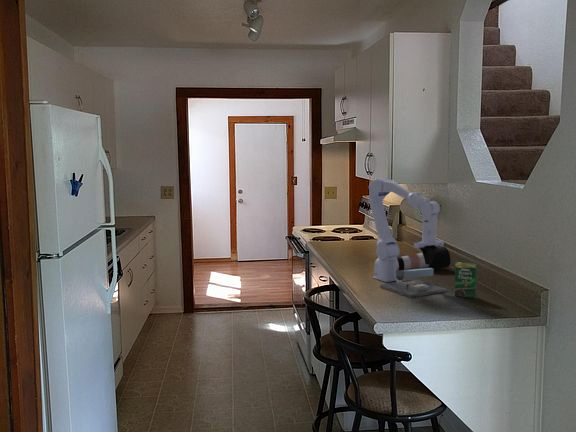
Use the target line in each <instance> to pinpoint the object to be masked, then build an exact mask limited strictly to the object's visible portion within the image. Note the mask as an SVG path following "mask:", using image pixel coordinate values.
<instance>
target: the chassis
mask: <svg viewBox="0 0 576 432" xmlns="http://www.w3.org/2000/svg"><path fill="white" fill-rule="evenodd" d="M403 279H404V278H403ZM403 279H397V281H392V282H386V283H382V284H380V285H379V286H380V288H381V289H384V290H387V291H390V292H392V293H396V294H398V295H401V296H404V297H408V298H409V299H410V298H411V299H412V298H417V297H423V296H427V295H433V294H440V293H444V292H447V290H448V289H447V287H446V288H445V287H443V286H441V285H440V286H439V285H437V284H433V283H430V282H426V281H423V280H420V279H416V278H414V279H413V278H411V279H407V280H403Z"/></svg>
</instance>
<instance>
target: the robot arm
mask: <svg viewBox="0 0 576 432" xmlns="http://www.w3.org/2000/svg"><path fill="white" fill-rule="evenodd" d="M368 190H369V194H368V202H369V206H370V209H371V212H372V218H373V221H374V225H375V229H376V232H377V233H376V234H377V236H378V240H377V242H376V244H375V245H376V250H375V251H376V256H377V257H378V258H376V260H375V261H374V271H373V272H374V276H372V279H375V280H376V279H377V280H378V281H379V280H380V281H382V282H385V283H391V282H397V278H396V259H397V258H398V256H399V255H400V254H401V249H400V245H398V243H397V240H396V239H395V238H394V237H393V236H392V234H391V229H390V226H389V223H388V217H387V214H386V211H385V206H384V202H383V201H384V200H385V198H386V196H388V195H389V194H390V193H391V192H392V193H393V194H395V195H397V196H399V197H401V198H403V199H405V200H406V201H407V204H408V205H410V206H411V207H412V208H415V209H416V210H418V211H419V212H420V214H421V217H422V218H421V219H422V227H421V228H422V229H421V230H422V231H421V241H418V242H414V243H413V248H414V249H420V251H421V253H423V256H424V259H425V264H428V265H430V264H431V263H432V260H433V257H434V255H435V253H436V251H437V250H438V247H437V246H444V245H445V242H444V240H442V239H438V238H437V237H438V236H437V234H438V231H437V230H438V214H440V212H441V205H440V203H439V202H437V201H436V200H431V199H430V198H428V197H425V196H424V195H422V193H421V192H420V191H417V192H416V191H414V192H411V191H410V190H408V189H406V188H405V187H403V186H402V185H400V184H399V183H397V182H396V180H393V179H392V178H390V177H387V178H374V179H371V181H370V183H369V185H368Z"/></svg>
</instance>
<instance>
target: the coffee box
mask: <svg viewBox="0 0 576 432" xmlns="http://www.w3.org/2000/svg"><path fill="white" fill-rule="evenodd" d="M454 267H455V268H454V297H459V296H460V297H461V298H469V299H476V298H477V292H478V291H477V289H478V287H477V285H478V284H477V283H478V263H470V262H469V263H468V262H458V261H456V262H455V263H454Z"/></svg>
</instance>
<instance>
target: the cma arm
mask: <svg viewBox="0 0 576 432" xmlns="http://www.w3.org/2000/svg"><path fill="white" fill-rule="evenodd" d="M434 272H435V271H434V269H432V268H420V269H412V270H397V271H396V278H397V279H409V278H411V279H413V278H420V277H421V278H423V277H431V276H434Z"/></svg>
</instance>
